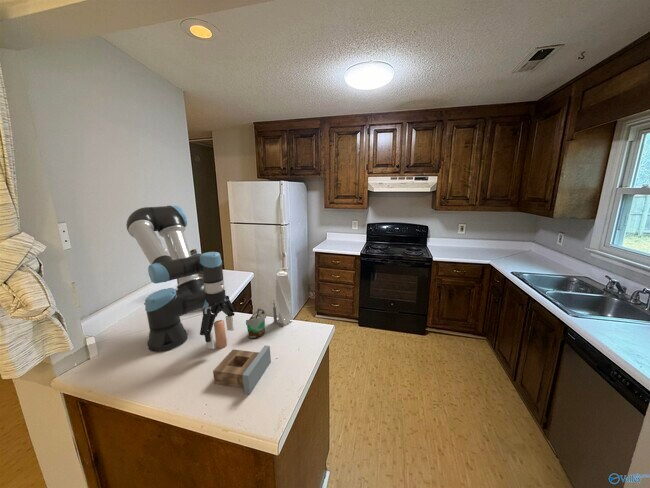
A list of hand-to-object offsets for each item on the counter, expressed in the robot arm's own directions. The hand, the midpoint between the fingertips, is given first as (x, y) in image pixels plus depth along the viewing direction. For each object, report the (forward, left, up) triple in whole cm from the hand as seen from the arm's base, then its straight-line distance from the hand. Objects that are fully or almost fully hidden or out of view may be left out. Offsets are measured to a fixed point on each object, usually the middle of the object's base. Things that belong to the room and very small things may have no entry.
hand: (221, 338), depth 108 cm
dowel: (0, 0, -5) cm, 5 cm away
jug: (-53, +52, -5) cm, 75 cm away
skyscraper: (+18, +26, -5) cm, 32 cm away
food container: (+11, +13, -5) cm, 18 cm away
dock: (+13, -14, -5) cm, 19 cm away
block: (+16, -14, -4) cm, 22 cm away
